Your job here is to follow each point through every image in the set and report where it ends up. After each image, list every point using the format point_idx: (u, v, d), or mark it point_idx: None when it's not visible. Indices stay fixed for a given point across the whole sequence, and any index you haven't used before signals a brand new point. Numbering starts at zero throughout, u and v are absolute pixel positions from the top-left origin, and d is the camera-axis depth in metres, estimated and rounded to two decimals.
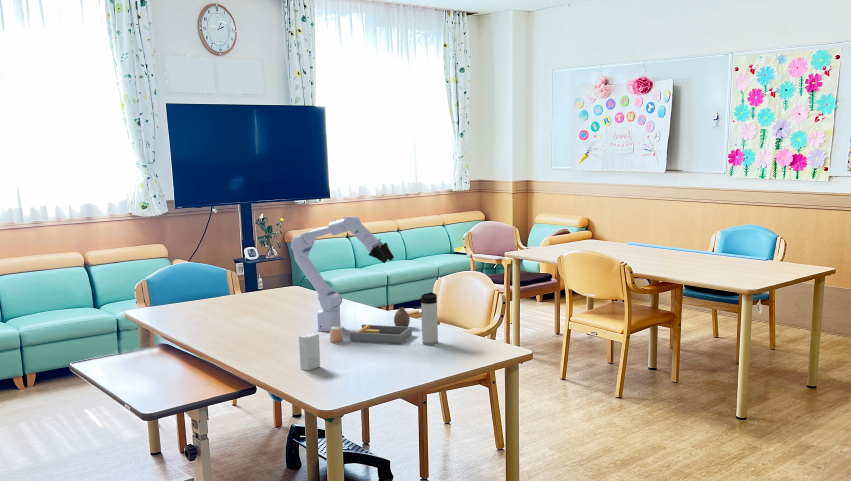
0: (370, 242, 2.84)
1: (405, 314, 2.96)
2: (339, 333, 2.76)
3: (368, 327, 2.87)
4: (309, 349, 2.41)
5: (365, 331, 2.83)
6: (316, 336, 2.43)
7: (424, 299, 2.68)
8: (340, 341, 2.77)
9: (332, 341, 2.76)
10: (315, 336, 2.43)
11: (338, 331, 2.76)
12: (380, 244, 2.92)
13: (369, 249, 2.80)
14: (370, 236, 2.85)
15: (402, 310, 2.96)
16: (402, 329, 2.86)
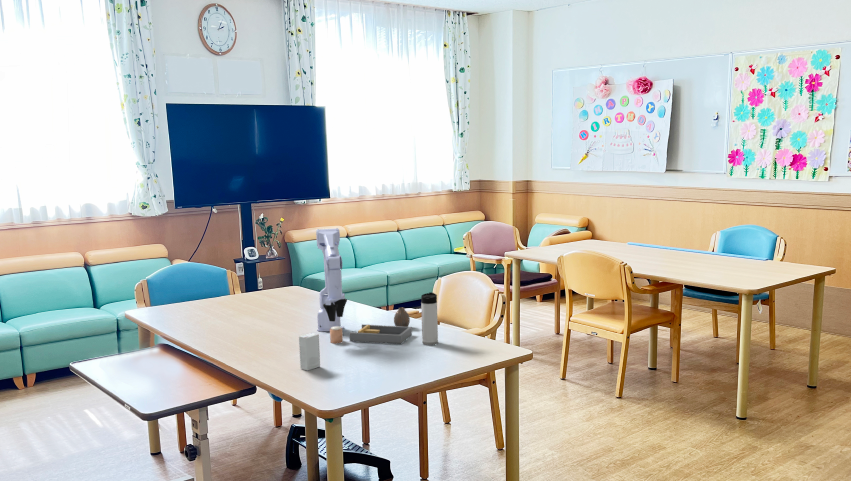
0: (333, 294, 2.73)
1: (405, 314, 2.96)
2: (339, 333, 2.76)
3: (368, 327, 2.87)
4: (309, 349, 2.41)
5: (365, 331, 2.83)
6: (316, 336, 2.43)
7: (424, 299, 2.68)
8: (340, 341, 2.77)
9: (332, 341, 2.76)
10: (315, 336, 2.43)
11: (338, 331, 2.76)
12: (341, 296, 2.81)
13: (327, 303, 2.69)
14: (338, 289, 2.73)
15: (402, 310, 2.96)
16: (402, 329, 2.86)
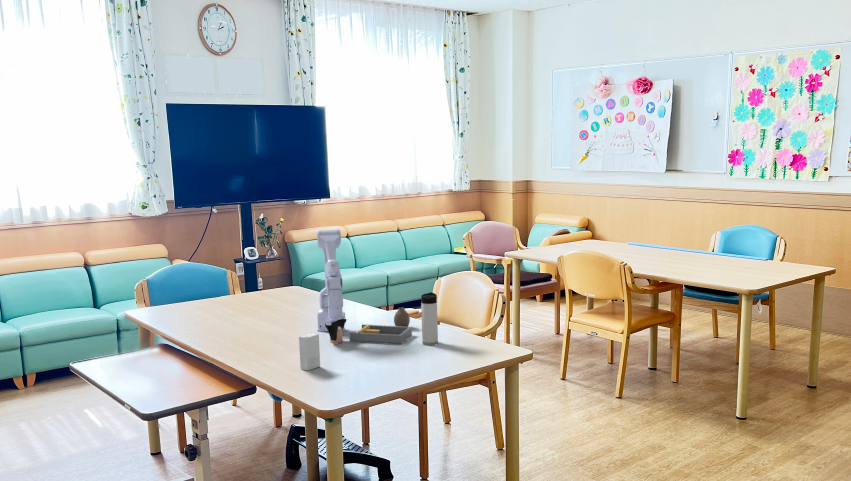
0: (334, 314, 2.74)
1: (405, 314, 2.96)
2: (339, 333, 2.76)
3: (368, 327, 2.87)
4: (309, 349, 2.41)
5: (365, 331, 2.83)
6: (316, 336, 2.43)
7: (424, 299, 2.68)
8: (340, 341, 2.77)
9: (332, 341, 2.76)
10: (315, 336, 2.43)
11: (338, 331, 2.76)
12: None
13: (327, 323, 2.70)
14: (338, 309, 2.74)
15: (402, 310, 2.96)
16: (402, 329, 2.86)
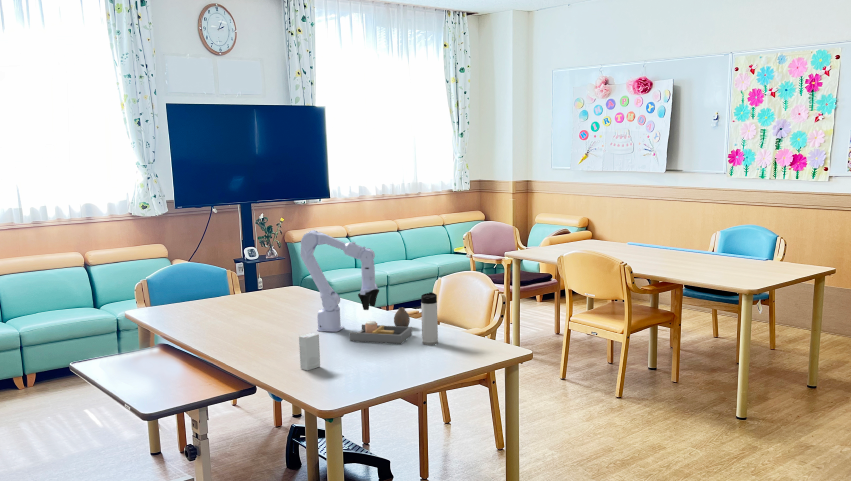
0: (367, 285, 2.92)
1: (405, 314, 2.96)
2: (375, 328, 2.81)
3: (382, 328, 2.86)
4: (309, 349, 2.41)
5: (379, 332, 2.81)
6: (316, 336, 2.43)
7: (424, 299, 2.68)
8: None
9: None
10: (315, 336, 2.43)
11: (374, 326, 2.81)
12: None
13: (362, 293, 2.88)
14: (371, 280, 2.92)
15: (402, 310, 2.96)
16: (402, 329, 2.86)
